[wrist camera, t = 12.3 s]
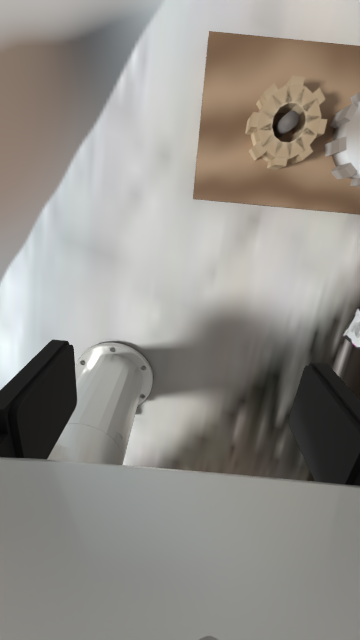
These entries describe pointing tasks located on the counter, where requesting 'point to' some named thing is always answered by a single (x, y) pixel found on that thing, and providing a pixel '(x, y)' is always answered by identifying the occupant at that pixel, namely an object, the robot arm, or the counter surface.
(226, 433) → the counter surface
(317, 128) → the wooden gear
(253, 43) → the gear board
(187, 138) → the counter surface
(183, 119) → the counter surface
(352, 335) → the candy bar box
